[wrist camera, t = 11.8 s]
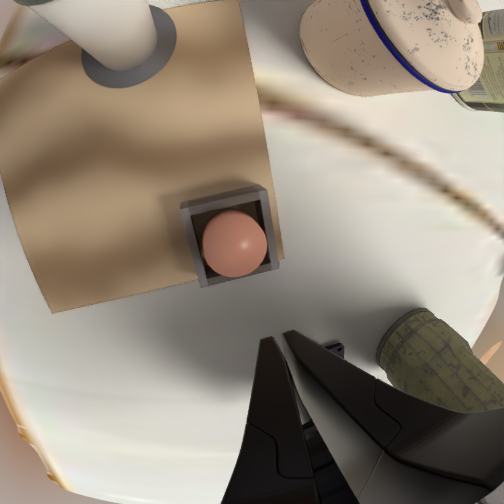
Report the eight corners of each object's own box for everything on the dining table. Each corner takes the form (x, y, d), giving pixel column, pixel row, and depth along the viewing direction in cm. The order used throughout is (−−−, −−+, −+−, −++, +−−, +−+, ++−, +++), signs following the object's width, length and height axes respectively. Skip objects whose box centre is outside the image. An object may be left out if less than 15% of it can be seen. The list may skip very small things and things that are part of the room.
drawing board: (282, 256, 21) (293, 269, 19) (53, 311, 19) (43, 327, 17) (234, -12, 13) (240, -27, 11) (-9, 73, 11) (-25, 70, 9)
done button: (263, 255, 19) (271, 268, 17) (209, 269, 19) (211, 283, 17) (253, 202, 18) (261, 210, 16) (195, 216, 17) (196, 225, 15)
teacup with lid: (389, 117, 19) (518, 127, 8) (282, 75, 16) (393, 17, 6) (404, 5, 15) (502, -25, 4) (311, -42, 12) (390, -116, 2)
